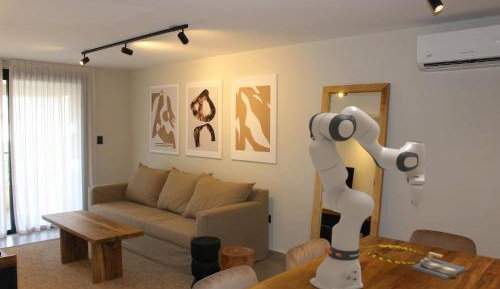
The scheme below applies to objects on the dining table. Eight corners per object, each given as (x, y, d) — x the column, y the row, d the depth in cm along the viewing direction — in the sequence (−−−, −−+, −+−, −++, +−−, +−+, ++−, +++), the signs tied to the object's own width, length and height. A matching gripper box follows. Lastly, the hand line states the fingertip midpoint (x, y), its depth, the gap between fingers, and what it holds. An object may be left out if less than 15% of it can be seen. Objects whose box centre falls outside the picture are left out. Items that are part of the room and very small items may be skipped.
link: (418, 265, 180) (418, 260, 180) (423, 263, 183) (423, 258, 183) (452, 276, 168) (452, 270, 168) (457, 274, 171) (457, 268, 171)
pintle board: (446, 280, 168) (446, 268, 167) (411, 268, 180) (412, 257, 180) (466, 270, 180) (466, 259, 180) (432, 260, 192) (433, 250, 192)
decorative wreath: (350, 254, 199) (411, 269, 181) (350, 251, 199) (411, 265, 181) (373, 240, 227) (428, 251, 208) (373, 237, 226) (429, 248, 208)
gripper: (405, 172, 185) (404, 200, 187) (409, 181, 166) (408, 212, 167) (419, 172, 183) (419, 201, 185) (425, 181, 164) (424, 213, 165)
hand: (414, 206), depth 176 cm, fingers open, 8 cm apart
